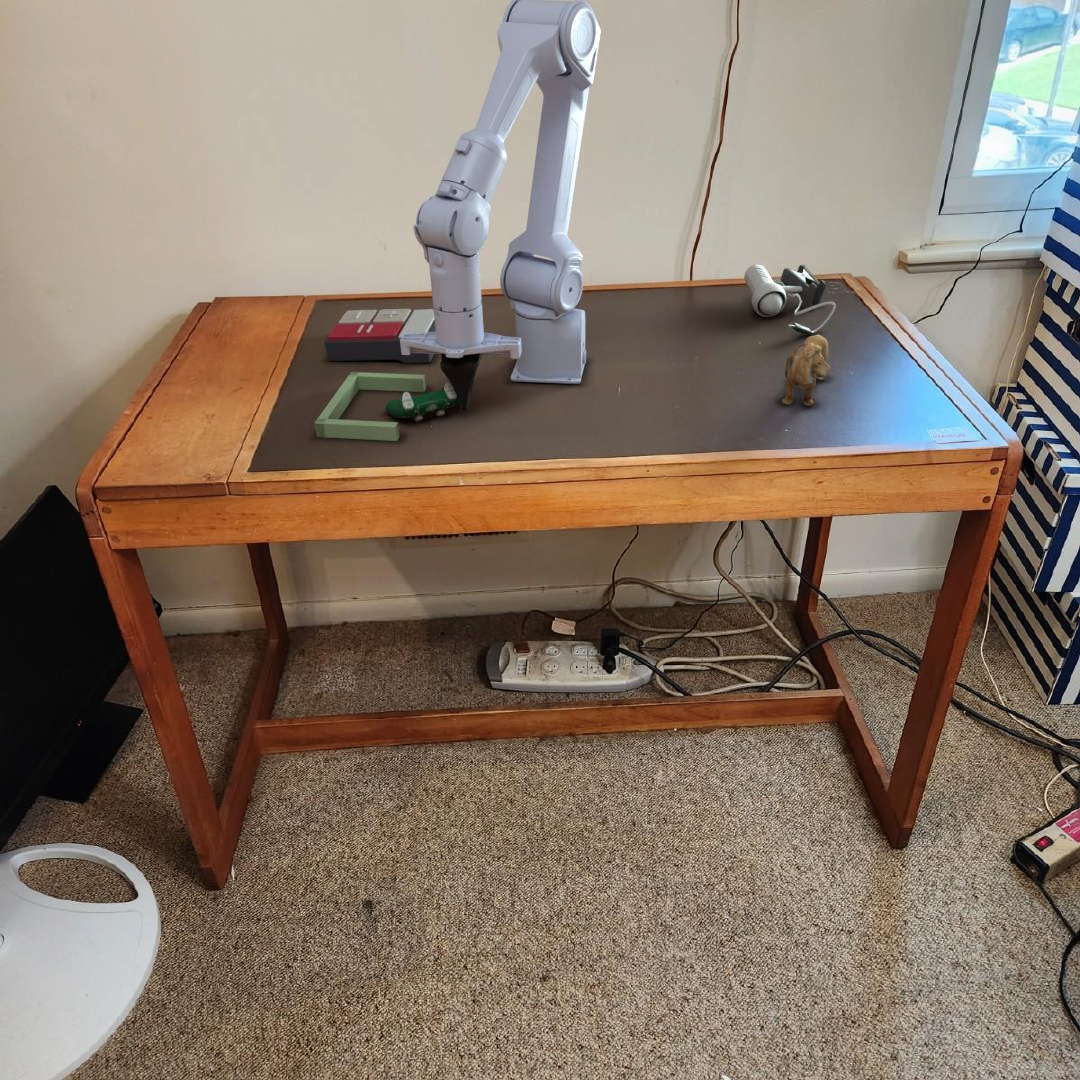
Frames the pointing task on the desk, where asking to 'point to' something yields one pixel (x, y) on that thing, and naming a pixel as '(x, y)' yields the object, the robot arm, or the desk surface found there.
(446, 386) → the gaming controller
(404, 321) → the calculator
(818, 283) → the clip-on lamp
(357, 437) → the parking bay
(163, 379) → the desk surface
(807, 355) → the lion figurine
